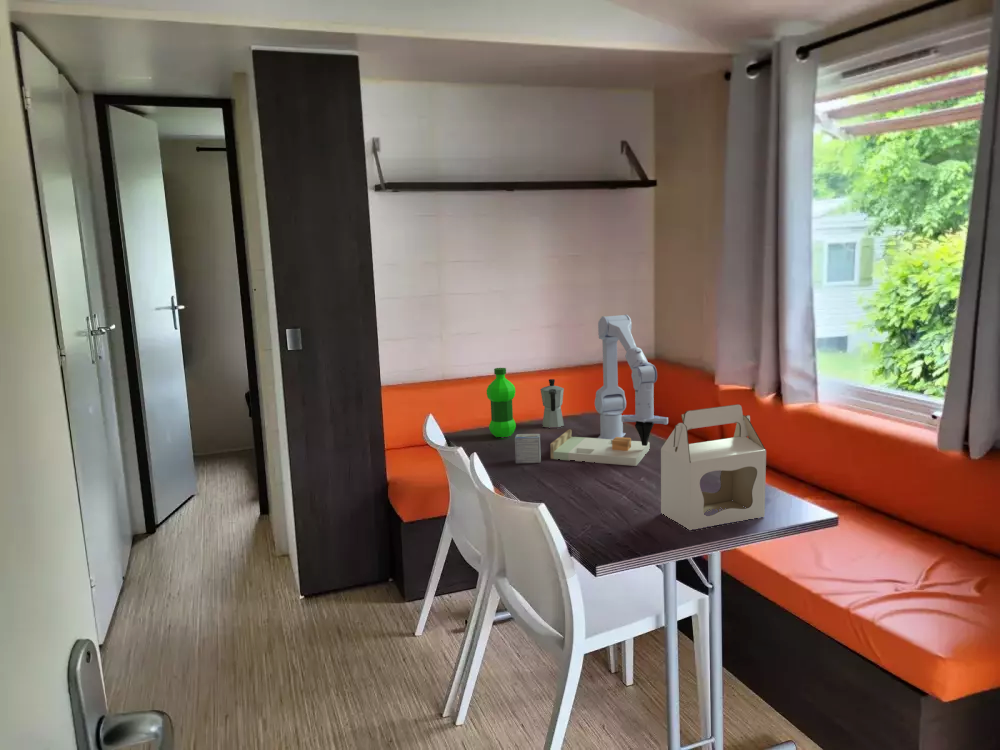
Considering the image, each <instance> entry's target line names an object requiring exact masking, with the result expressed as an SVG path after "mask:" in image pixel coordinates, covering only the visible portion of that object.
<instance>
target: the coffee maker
mask: <svg viewBox="0 0 1000 750" xmlns="http://www.w3.org/2000/svg"><path fill="white" fill-rule="evenodd" d="M555 382H556V380H555V379H554V378H551V379H548V383H549V384H548V385H547V386H543V387H541V388H540V394H541V395H540V396H541V401H542V406H543V407H544V409H543V417H542V425H543V426H542V428H543V427H549V428H550V427H561V426H564V427H565V424H564V418H563V412H562V405H563V401H564V392H565V391H564V390H565V388H564V387H561V386H559V385H555ZM561 428H562V427H561Z"/></svg>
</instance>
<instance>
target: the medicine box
mask: <svg viewBox="0 0 1000 750" xmlns="http://www.w3.org/2000/svg"><path fill="white" fill-rule="evenodd" d="M514 445H515V446H514V449H515V450H514V452H515V464H540V463H541V461H542V457H541V456H542V454H541V453H542V451H541V434H540V433H519V434H518V433H517V434H515V437H514Z"/></svg>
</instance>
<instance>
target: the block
mask: <svg viewBox="0 0 1000 750" xmlns="http://www.w3.org/2000/svg"><path fill="white" fill-rule="evenodd" d="M631 441H632V438H631V437H625V436H623V437H615V438H614V439H613V440H612V450H624V451H628V450H629V449H630V447H631Z"/></svg>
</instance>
